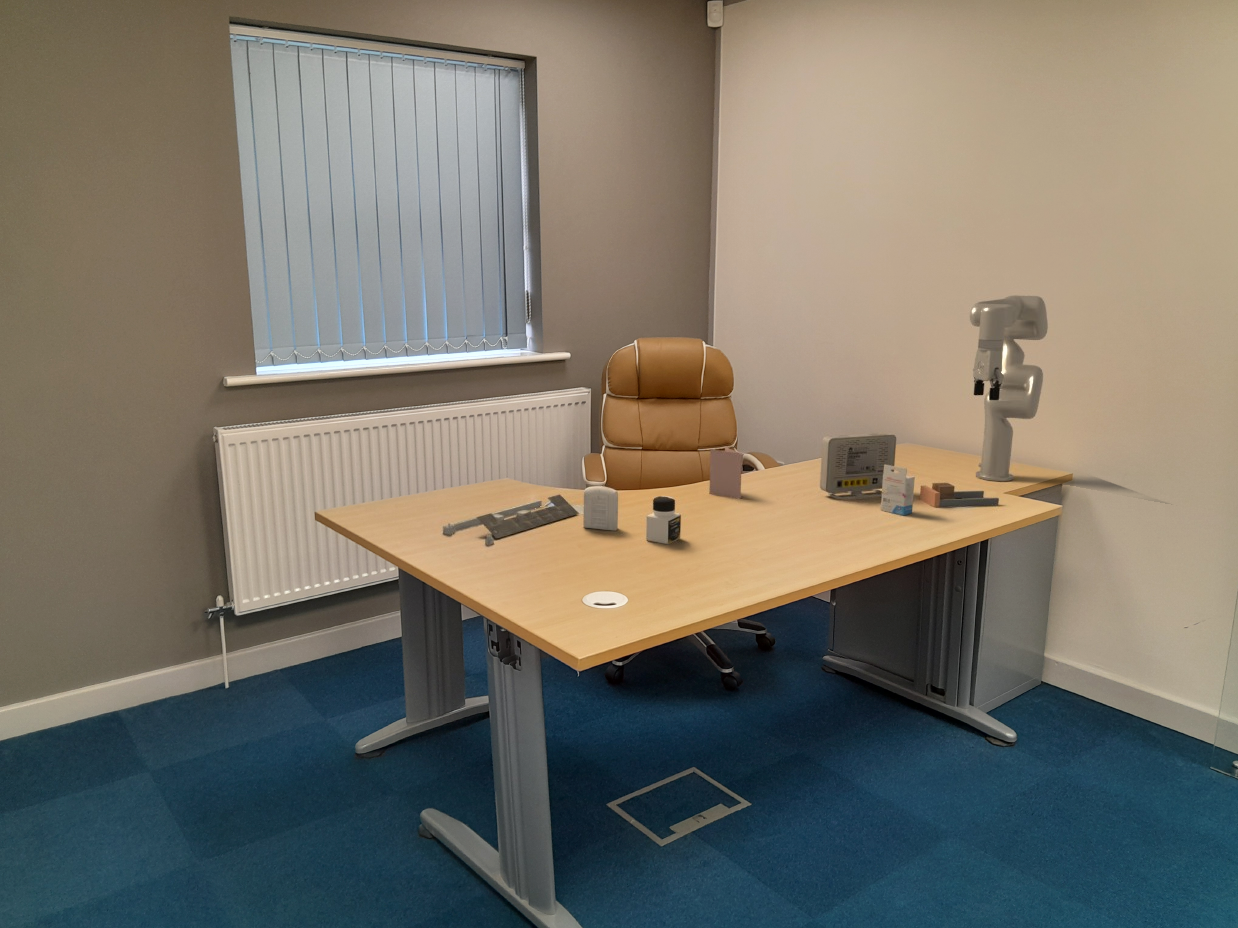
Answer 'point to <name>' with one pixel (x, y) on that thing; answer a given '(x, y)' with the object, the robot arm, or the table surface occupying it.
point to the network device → (856, 463)
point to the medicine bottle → (663, 521)
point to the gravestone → (600, 508)
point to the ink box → (897, 491)
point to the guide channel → (973, 499)
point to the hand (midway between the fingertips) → (986, 397)
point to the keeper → (944, 490)
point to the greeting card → (725, 473)
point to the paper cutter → (518, 518)
